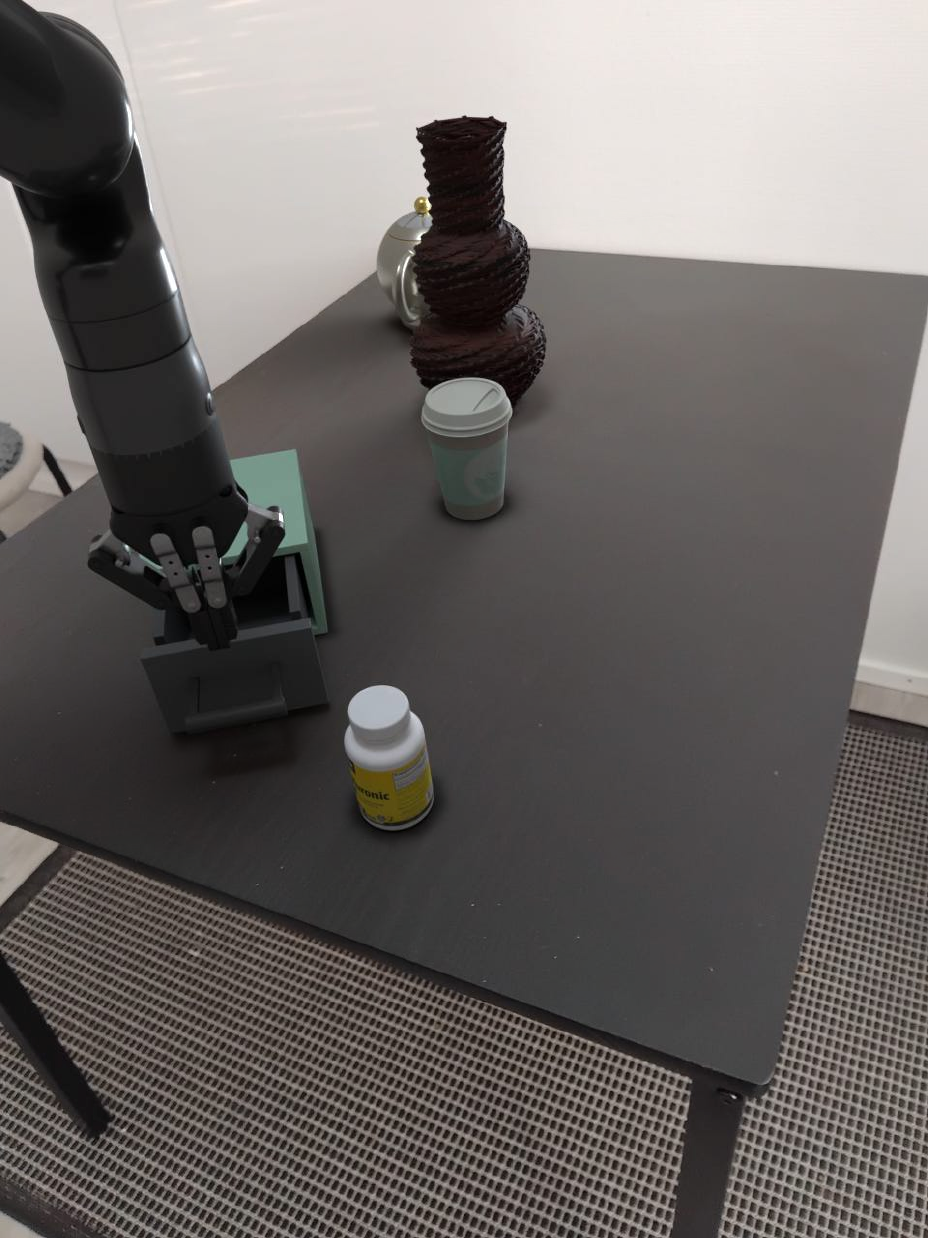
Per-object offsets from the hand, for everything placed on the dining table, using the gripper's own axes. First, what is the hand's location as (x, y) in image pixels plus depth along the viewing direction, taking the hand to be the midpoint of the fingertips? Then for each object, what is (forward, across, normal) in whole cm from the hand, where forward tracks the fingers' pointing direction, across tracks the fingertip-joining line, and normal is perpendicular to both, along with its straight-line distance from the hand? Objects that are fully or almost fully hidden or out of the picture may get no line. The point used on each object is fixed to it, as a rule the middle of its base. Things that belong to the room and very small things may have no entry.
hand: (220, 642), depth 68 cm
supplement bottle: (+11, -10, +8) cm, 17 cm away
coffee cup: (+11, -23, -28) cm, 38 cm away
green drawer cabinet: (+11, 0, -20) cm, 23 cm away
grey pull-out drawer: (+10, 0, -7) cm, 12 cm away
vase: (+11, -28, -48) cm, 57 cm away
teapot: (+11, -26, -73) cm, 78 cm away
